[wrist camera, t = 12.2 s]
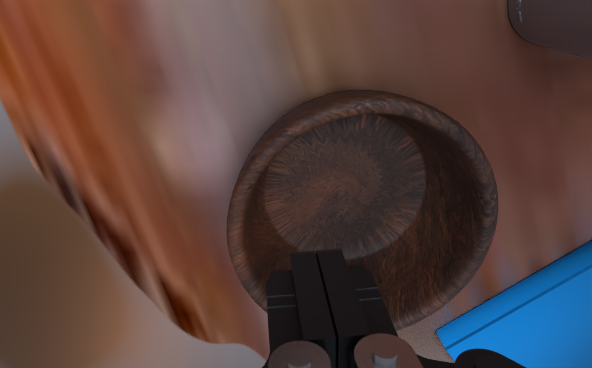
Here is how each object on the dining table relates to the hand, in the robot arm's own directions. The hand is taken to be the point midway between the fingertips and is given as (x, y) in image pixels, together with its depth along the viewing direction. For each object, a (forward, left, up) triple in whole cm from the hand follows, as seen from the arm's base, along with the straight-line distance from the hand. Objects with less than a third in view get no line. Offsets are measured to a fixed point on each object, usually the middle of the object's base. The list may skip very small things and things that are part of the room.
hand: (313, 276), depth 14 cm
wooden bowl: (-8, +14, -35) cm, 39 cm away
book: (-35, +36, -36) cm, 61 cm away
